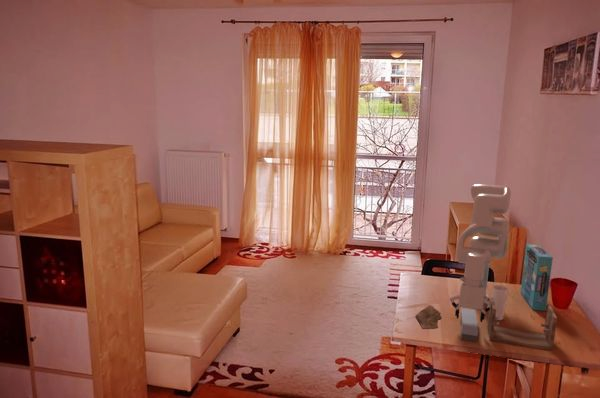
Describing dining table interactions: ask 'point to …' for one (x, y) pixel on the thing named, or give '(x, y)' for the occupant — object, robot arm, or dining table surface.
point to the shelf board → (469, 322)
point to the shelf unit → (523, 331)
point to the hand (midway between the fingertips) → (469, 319)
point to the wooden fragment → (428, 317)
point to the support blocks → (468, 336)
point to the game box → (536, 276)
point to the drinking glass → (499, 299)
